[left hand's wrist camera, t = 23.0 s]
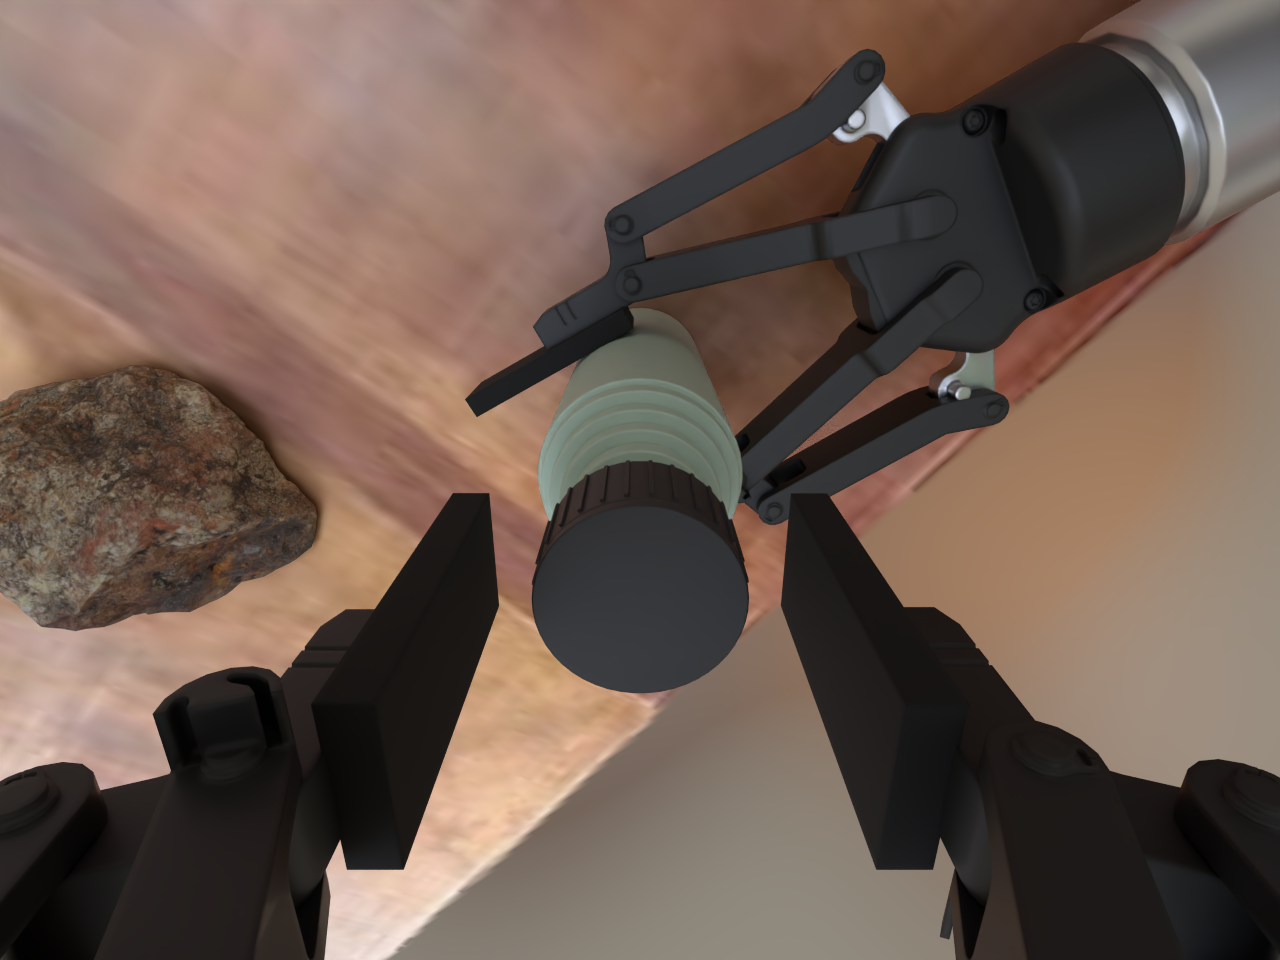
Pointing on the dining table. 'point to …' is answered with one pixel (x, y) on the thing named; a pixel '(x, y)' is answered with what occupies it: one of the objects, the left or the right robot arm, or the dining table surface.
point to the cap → (640, 579)
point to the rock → (136, 500)
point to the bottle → (641, 413)
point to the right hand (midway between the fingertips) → (525, 467)
